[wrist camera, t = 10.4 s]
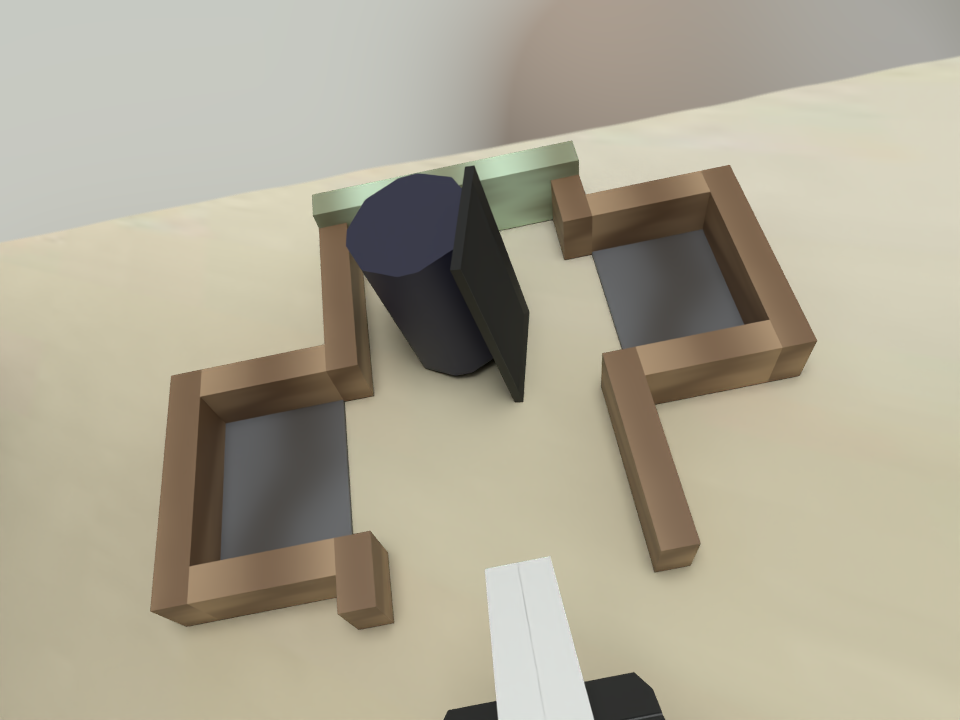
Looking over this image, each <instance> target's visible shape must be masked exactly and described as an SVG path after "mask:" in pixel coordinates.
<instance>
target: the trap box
mask: <svg viewBox="0 0 960 720" xmlns="http://www.w3.org/2000/svg"><path fill="white" fill-rule="evenodd" d="M473 165H475V168H476V171H477V173H478V176H479V179H480V181H481V184H482V187H483V189H484V192H485V195H486V197H487V200H488V203H489V205H490V208H491V211H492V213H493V216H494V219H495V221H496V224H497V227H498V229H499V230H504V229H509V228H513V227H518V226H523V225H528V224H533V223H538V222H543V221H547V220H552V219H553V221H554V225H555V228H556V232H557V235H558V239H559V242H560V245H561V249H562V252H563V256H564V259H565V260H566V259H571V258H576V257H581V256H586V255H591V254H592V256H593V259H594V262H595V265H596V268H597V272H598V275H599V278H600V281H601V284H602V287H603V290H604V294H605V297H606V300H607V303H608V306H609V309H610V313H611V316H612V319H613V322H614V325H615V328H616V331H617V335H618V338H619V341H620V344H621V347H622V350H617V351H612V352H607V353H602V376H601V388H602V391H603V395H604V398H605V402H606V405H607V408H608V412H609V415H610V419H611V422H612V426H613V429H614V433H615V436H616V440H617V443H618V447H619V450H620V454H621V457H622V460H623V464H624V467H625V471H626V474H627V478H628V481H629V485H630V488H631V492H632V495H633V499H634V502H635V506H636V509H637V512H638V516H639V519H640V523H641V526H642V530H643V533H644V537H645V540H646V544H647V547H648V551H649V554H650V558H651V561H652V564H653V568H654V571H655V572H659V571H664V570H669V569H674V568H680V567H685V566H690V565H691V564H692V561H693V559H694V557H695V555H696V553H697V550H698V548H699V546H700V544H701V543H700V540H699V537H698V534H697V531H696V528H695V525H694V522H693V519H692V516H691V513H690V510H689V507H688V504H687V501H686V498H685V495H684V492H683V488H682V485H681V482H680V479H679V476H678V473H677V470H676V467H675V464H674V461H673V458H672V455H671V452H670V449H669V446H668V443H667V440H666V437H665V434H664V431H663V428H662V425H661V422H660V419H659V416H658V413H657V410H656V407H655V404H660V403H665V402H670V401H675V400H680V399H685V398H690V397H695V396H700V395H705V394H710V393H715V392H720V391H725V390H730V389H735V388H740V387H745V386H750V385H755V384H760V383H765V382H770V381H775V380H780V379H785V378H790V377H795V376H799V375H800V374H801V372H802V370H803V368H804V366H805V364H806V362H807V360H808V358H809V356H810V354H811V352H812V350H813V348H814V346H815V344H816V342H817V339H816V337H815V335H814V333H813V331H812V329H811V327H810V325H809V323H808V321H807V319H806V317H805V315H804V313H803V311H802V309H801V307H800V305H799V303H798V301H797V299H796V297H795V295H794V293H793V291H792V289H791V287H790V285H789V283H788V281H787V279H786V277H785V275H784V273H783V271H782V269H781V267H780V265H779V263H778V261H777V259H776V257H775V255H774V253H773V251H772V249H771V247H770V245H769V243H768V241H767V239H766V237H765V235H764V233H763V231H762V229H761V227H760V225H759V223H758V221H757V219H756V217H755V215H754V213H753V211H752V209H751V207H750V205H749V203H748V201H747V199H746V197H745V195H744V193H743V191H742V189H741V187H740V185H739V183H738V181H737V179H736V177H735V175H734V173H733V171H732V169H731V167H730V165H727V166H722V167H717V168H712V169H707V170H702V171H698V172H693V173H688V174H683V175H678V176H673V177H669V178H664V179H659V180H654V181H649V182H644V183H640V184H635V185H630V186H625V187H620V188H615V189H611V190H606V191H601V192H596V193H591V194H586V195H585V192H584V189H583V186H582V183H581V180H580V177H579V160H578V157H577V154H576V151H575V148H574V145H573V142H572V141H568V142H563V143H558V144H553V145H548V146H544V147H539V148H534V149H529V150H524V151H520V152H515V153H510V154H505V155H501V156H496V157H491V158H486V159H481V160H477V161H472V162H467V163H462V164H457V165H453V166H448V167H443V168H438V169H433V170H429V171H424V172H419V173H421V174H430V175H438V176H447V177H452V178H453V179H454V180H455V181H456V182H457V184H458V185H459V186H460V187H461V188H462V184H463V177H464V170H465V167H466V166H473ZM414 174H416V173H414ZM410 175H412V174H410ZM405 176H408V175H405ZM401 177H404V176H400V177H395V178H390V179H386V180H381V181H376V182H371V183H366V184H362V185H357V186H352V187H347V188H342V189H338V190H333V191H328V192H323V193H319V194H314V195H312V205H313V217H314V219H315V221H316V223H317V225H318V227H319V238H320V259H321V280H322V300H323V321H324V342H325V345H320V346H315V347H310V348H305V349H300V350H295V351H291V352H286V353H281V354H276V355H271V356H266V357H261V358H256V359H251V360H246V361H241V362H236V363H232V364H227V365H222V366H217V367H212V368H207V369H202V370H197V371H192V372H187V373H182V374H178V375H173V376H171V383H170V394H169V406H168V417H167V428H166V439H165V451H164V462H163V473H162V484H161V496H160V507H159V518H158V529H157V541H156V552H155V563H154V574H153V586H152V597H151V608H150V611H151V612H153V613H156V614H158V615H160V616H163V617H165V618H167V619H170V620H172V621H174V622H177V623H179V624H181V625H184V626H186V627H187V626H192V625H197V624H202V623H207V622H212V621H217V620H223V619H228V618H233V617H238V616H243V615H248V614H253V613H258V612H264V611H269V610H274V609H279V608H284V607H289V606H294V605H300V604H305V603H310V602H315V601H320V600H325V599H330V598H335V597H337V612H338V615H340V616H341V617H342V618H344V619H345V620H346V621H348V622H349V623H350V624H352V625H353V626H354V627H356V628H357V629H359V630H360V629H365V628H370V627H375V626H380V625H385V624H391V623H394V618H393V606H392V595H391V584H390V572H389V561H388V552H387V551H386V550H385V548H384V547H383V546H382V545H381V543H380V542H379V541H378V540H377V539H376V537H375V536H374V535H373V534H372V532H371V531H367V532H362V533H357V534H353V530H352V514H351V498H350V482H349V466H348V450H347V434H346V419H345V403H344V402H345V401H350V400H355V399H360V398H364V397H369V396H374V392H373V381H372V369H371V358H370V347H369V336H368V324H367V313H366V302H365V290H364V279H363V272H362V270H361V269H360V267H359V266H358V264H357V263H356V261H355V259H354V258H353V256H352V255H351V253H350V252H349V250H348V249H347V247H346V234H347V229H348V227H349V226H350V224H351V222H352V221H353V219H354V217H355V216H356V214H357V212H358V211H359V209H360V207H361V206H362V204H363V202H364V201H365V199H367V198H368V197H370V196H371V195H373V194H375V193H376V192H378V191H379V190H381V189H382V188H384V187H385V186H387V185H388V184H390V183H392V182H393V181H395V180H396V179H398V178H401Z"/></svg>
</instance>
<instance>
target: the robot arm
mask: <svg viewBox="0 0 960 720" xmlns="http://www.w3.org/2000/svg"><path fill="white" fill-rule="evenodd" d="M485 576H486V588H487V599H488V610H489V622H490V633H491V644H492V655H493V667H494V678H495V689H496V701H494V702H489V703H483V704H478V705H473V706H468V707H463V708H458V709H452V710H448V712H447V714H446V716H445V718H444V720H665V718H664V716H663V715H662V711H661V708H660V706H659V703H658V701H657V698H656V696H655V693H654V691H653V689H652V688H651V687H650V686H649V685H648V684H647V683H645V682H644V681H643V680H642V679H641V678H640V677H639V676H638V675H637V674H636V673H634V672H633V673H628V674H623V675H618V676H612V677H607V678H602V679H597V680H592V681H587V682H584V680H583V677H582V673H581V669H580V665H579V662H578V658H577V654H576V650H575V647H574V643H573V639H572V636H571V632H570V628H569V624H568V621H567V617H566V613H565V609H564V606H563V602H562V598H561V595H560V591H559V587H558V583H557V580H556V576H555V572H554V568H553V565H552V561H551V557H550V556H548V557H543V558H538V559H533V560H528V561H523V562H518V563H513V564H508V565H502V566H497V567H492V568H487V569H485Z"/></svg>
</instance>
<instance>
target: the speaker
mask: <svg viewBox="0 0 960 720" xmlns="http://www.w3.org/2000/svg"><path fill="white" fill-rule="evenodd" d="M346 247H347V249H348V250H349V252H350V253H351V255H352V256H353V258H354V259H355V261H356V263H357V264H358V266H359V267H360V269H361V270H362V272H363V273H364V275H365V276H366V278H367V279H368V281H369V283H370V284H371V286H372V287H373V289H374V290H375V292H376V293H377V295H378V296H379V298H380V300H381V301H382V303H383V304H384V306H385V307H386V309H387V310H388V312H389V313H390V315H391V317H392V318H393V320H394V321H395V323H396V324H397V326H398V327H399V329H400V330H401V332H402V333H403V335H404V337H405V338H406V340H407V341H408V343H409V344H410V346H411V347H412V349H413V350H414V352H415V353H416V355H417V356H418V358H419V359H420V361H421V363H422V364H423V366H424V367H425V368H427V369H431V370H435V371H439V372H443V373H447V374H451V375H455V376H457V375H462V374H467V373H471V372H474V371H475V370H477V369H478V368H480V367H481V366H483V365H484V364H486V363H487V362H489V361H490V360H492V359H493V358H494V361H495V363H496V365H497V367H498V369H499V371H500V373H501V375H502V377H503V379H504V381H505V383H506V385H507V387H508V389H509V391H510V393H511V395H512V397H513V399H514V401H515V402H523V395H524V381H525V366H526V352H527V337H528V323H529V309H528V307H527V304H526V301H525V299H524V296H523V293H522V291H521V288H520V285H519V283H518V280H517V277H516V275H515V272H514V269H513V267H512V264H511V261H510V259H509V256H508V253H507V251H506V248H505V245H504V243H503V240H502V237H501V235H500V232H499V229H498V227H497V224H496V221H495V219H494V216H493V213H492V211H491V208H490V205H489V203H488V200H487V197H486V195H485V192H484V189H483V187H482V184H481V181H480V179H479V176H478V173H477V171H476V168H475V165H473V166H466V167H465V170H464V177H463V184H462V188H461V187H460V186H459V185H458V184H457V182H456V181H455V180H454V179H453V178H452V177H447V176H438V175H430V174H421V173H416V174H412V175H408V176H404V177H401V178H398V179H396V180H395V181H393V182H392V183H390V184H388V185H387V186H385V187H384V188H382V189H381V190H379V191H378V192H376V193H375V194H373V195H371V196H370V197H368V198H367V199H365V201H364V202H363V204H362V206H361V207H360V209H359V211H358V212H357V214H356V216H355V217H354V219H353V221H352V222H351V224H350V226H349V227H348V229H347V234H346Z"/></svg>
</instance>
